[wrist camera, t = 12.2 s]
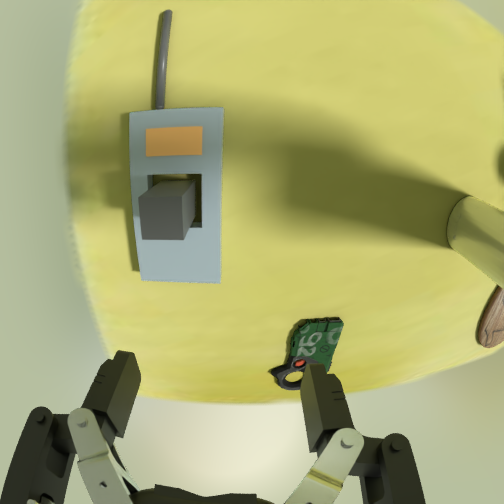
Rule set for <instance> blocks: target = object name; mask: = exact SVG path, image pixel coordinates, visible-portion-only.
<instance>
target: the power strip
mask: <svg viewBox="0 0 504 504" xmlns="http://www.w3.org/2000/svg"><path fill="white" fill-rule="evenodd" d="M171 19H172V11H171V10H166V11H164V14H163V21H162V28H161V37H160V46H159V56H158V68H157V83H156V103H155V108H156V110H149V111H139V112H130V114H129V153H130V180H131V196H132V209H133V220H134V229H135V238H136V246H137V254H138V261H139V268H140V275H141V280H143V281H164V282H189V283H221V209H222V159H223V128H224V108H223V107H202V108H176V109H164V104H165V84H166V68H167V56H168V45H169V36H170V27H171ZM154 174H202V222H192V224H191V226H190V228H189V230H188V232H187V234H186V237H185V239H184V240H142V235H141V226H140V215H139V203H138V197H139V196H140V195H142V194H143V193H145V192H146V191H147V190H149V189H150V188H152V187H153V175H154Z"/></svg>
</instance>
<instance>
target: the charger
mask: <svg viewBox="0 0 504 504" xmlns="http://www.w3.org/2000/svg"><path fill="white" fill-rule="evenodd" d="M138 203H139V215H140V226H141V235H142V240H184V239H185V237H186V234H187V232H188V230H189V228H190V226H191V224H192V222H193V220H194V218H195V216H196V180H162V181H160V182H159V183H157V184H156V185H154V186H153V187H152V188H150V189H149V190H147V191H146V192H145V193H143V194H142V195H140V196H139V197H138Z"/></svg>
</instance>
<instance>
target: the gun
mask: <svg viewBox="0 0 504 504" xmlns="http://www.w3.org/2000/svg"><path fill="white" fill-rule="evenodd" d="M306 320H307V319H306ZM325 322H326V323H325ZM343 325H344V323H343V321H342V320H341V319H340V318H339V317H338V320H329V318H327V321H326V320H325V318H324V320H323V321H319V318H318V319H316V321H315V323H311V320H310V319H309V320H307V323H306V324H305V325H303V326H302V327H300V326H299V325H298V327H299V329H297V330H295V331H294V334H293V336H292V337H291V343H290V344H291V349H290V354H289V358H288V361H287V364H286V365H282V366H279V367H277V368H275V369H272V371H271V374H272V375H273V376H275V377H276V378H277V379H278V380H277V382H278V385H279V386H280V387H281V388H284V389H286V390H300V388H301V382H302V380H300V381H297V382H289V381H287V380H285V377H286V376H287V375H288V374H290V373H292V372H296V371H301V372H305V368H306V365H307V364H320V363H323V364H324V366H325V369H326V373H327V372H328V371H329V369H330V366H331V363H332V362H331V360H332V356H333V353H334V351H335V348H336V346H337V343H338V340H339V337H340V334H341V331H342V328H343ZM293 341H294V342H293ZM299 359H302V360H299ZM296 360H299V361H296ZM294 361H296V362H295V363H293V362H294Z"/></svg>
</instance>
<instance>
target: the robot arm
mask: <svg viewBox="0 0 504 504" xmlns="http://www.w3.org/2000/svg"><path fill="white" fill-rule="evenodd" d="M447 238H448V242H449V245H450V246H451V248H453V249H454V250H455V251H456V252H458V253H459V254H460V255H462V256H463V257H464V258H466V259H467V260H468V261H469V262H471V263H472V264H473V265H475V266H476V267H477V268H478V269H480V270H481V271H482V272H483V273H484V274H486V275H487V276H488V277H489V278H491V279H492V280H493V281H494V282H495V283H496V284H498V285H499V286H500V287H501V288H502V289H503V290H504V211H502V210H500V209H498V208H496V207H494V206H492V205H490V204H488V203H486V202H484V201H482V200H479V199H477V198H475V197H472V196H469V197H465V198H463V199H462V200H460V201H459V202H458V203H457V204H456V206H455V207H454V209H453V211H452V213H451V215H450V218H449V221H448V226H447ZM140 382H141V374H140V370H139V367H138V364H137V361H136V357H135V354H134V353H133V352H127V351H121V350H118V351H117V352H116V354H115V356H114V359H113V360H111V359H108V360H106V361H105V362H104V363H103V364H102V365H101V366H100V369H99V370H98V373H97V376H96V377H95V379H94V382H93V383H92V385H91V387H90V390H89V392H88V394H87V396H86V398H85V400H84V403H83V405H82V406H81V408H77V409H75V410H73V411H72V412H71V413H70V414H52V412H51V411H50V410H49V409H48V408H46V407H37V408H35V409H33V410H32V411H31V413H30V415H29V417H28V419H27V422H26V424H25V427H24V429H23V431H22V434H21V437H20V439H19V442H18V444H17V447H16V450H15V452H14V455H13V458H12V461H11V464H10V467H9V470H8V474H7V477H6V480H5V483H4V487H3V491H2V495H1V499H0V504H63V503H64V498H65V494H66V489H67V485H68V481H69V476H70V472H71V468H72V465H73V461H74V457H75V454H78V457H79V461H78V462H77V464H78V468H79V471H80V473H81V476H82V478H83V481H84V483H85V485H86V488H87V490H88V493H89V495H90V497H91V499H92V501H93V503H94V504H274V503H272V502H269V501H267V500H263V499H260V498H257V495H256V494H233V493H230V494H225V495H218V496H209V497H202V496H199V495H196V494H193V493H191V492H188V491H185V490H182V489H180V488H173V487H168V486H162V485H157V484H155V488H151V489H145V490H141V491H140V489H139V487H138V486H137V484H136V483H135V481H134V480H133V478H132V477H131V476H130V474H129V472H128V470H127V468H126V467H125V465H124V463H123V461H122V459H121V457H120V455H119V452H118V450H117V448H116V446H115V444H114V439H115V436H117V437H121V438H123V436H124V433H125V430H126V426H127V423H128V420H129V417H130V413H131V410H132V407H133V404H134V401H135V398H136V395H137V392H138V389H139V386H140ZM300 394H301V400H302V407H303V413H304V418H305V425H306V431H307V438H308V444H309V451H310V453H311V452H317V456H318V459H317V460H316V462H315V464H314V465H313V466H312V468H311V469H310V471H309V472H308V473H307V475H306V476H305V477H304V479H303V480H302V481H301V483H300V484H299V485H298V487H297V488H296V489H295V490H294V492H293V493H292V494H291V496H290V497H289V498H288V499H287V500H286V502H285V503H284V504H333V502H334V501H335V499H336V498H337V496H338V495H339V493H340V491H341V489H342V487H343V482H344V480H345V479H346V477H347V475H352V476H359V478H360V484H361V491H362V498H363V504H426V503H425V499H424V494H423V490H422V486H421V482H420V478H419V474H418V470H417V467H416V463H415V459H414V456H413V452H412V449H411V446H410V443H409V440H408V439H407V438H406V437H405V436H404V435H402V434H398V433H393V434H390V435H388V436H386V437H385V439H380V438H370V437H366V436H363V435H361V434H360V433H359V432H358V431H357V430H356V429H355V428H354V425H353V422H352V419H351V415H350V412H349V408H348V405H347V401H346V400H345V395H344V393H343V388H342V385H341V382H340V380H339V379H338V378H337V377H336V376H335V374H327V373H326V369H325V366H324V364H323V363H320V364H307V365H306V368H305V372H304V375H303V379H302V382H301V388H300Z"/></svg>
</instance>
